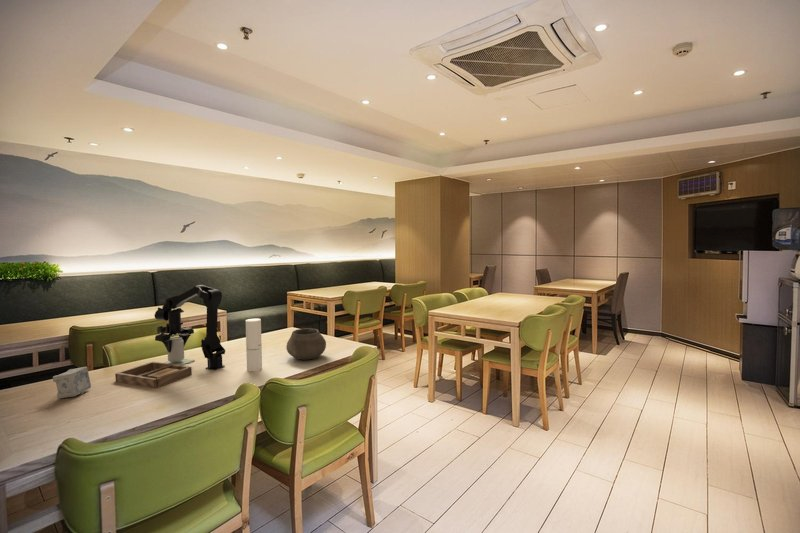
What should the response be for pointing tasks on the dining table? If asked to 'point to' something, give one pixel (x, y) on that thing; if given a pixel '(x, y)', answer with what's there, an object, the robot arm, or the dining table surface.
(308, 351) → the clay pot
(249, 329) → the cylindrical container
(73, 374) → the grey stone block
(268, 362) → the dining table surface
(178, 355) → the can
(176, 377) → the wooden divided tray
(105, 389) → the dining table surface
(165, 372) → the offcut top
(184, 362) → the mat
